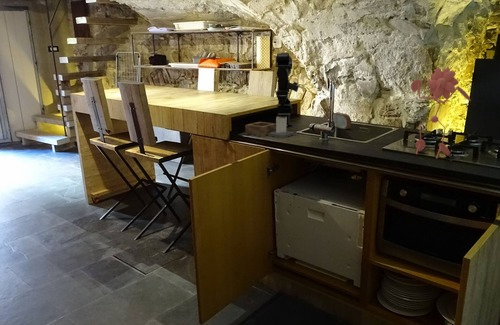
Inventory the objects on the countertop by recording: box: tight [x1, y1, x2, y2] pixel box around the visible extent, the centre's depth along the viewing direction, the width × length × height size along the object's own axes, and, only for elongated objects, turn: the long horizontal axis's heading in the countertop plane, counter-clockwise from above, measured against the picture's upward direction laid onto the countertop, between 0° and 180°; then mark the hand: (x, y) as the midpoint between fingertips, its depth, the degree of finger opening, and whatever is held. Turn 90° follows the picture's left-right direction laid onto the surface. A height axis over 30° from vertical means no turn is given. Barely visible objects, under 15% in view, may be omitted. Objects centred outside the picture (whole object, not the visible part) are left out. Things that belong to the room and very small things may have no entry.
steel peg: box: [275, 116, 288, 134], centre depth 210 cm, size 5×5×8 cm
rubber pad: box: [268, 130, 296, 139], centre depth 211 cm, size 10×10×2 cm
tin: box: [332, 111, 352, 130], centre depth 226 cm, size 15×3×8 cm, turn 25°
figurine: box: [410, 67, 471, 162], centre depth 164 cm, size 15×26×35 cm, turn 34°
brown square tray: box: [244, 121, 276, 137], centre depth 217 cm, size 12×12×5 cm
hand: (283, 107), depth 220 cm, fingers open, 9 cm apart
